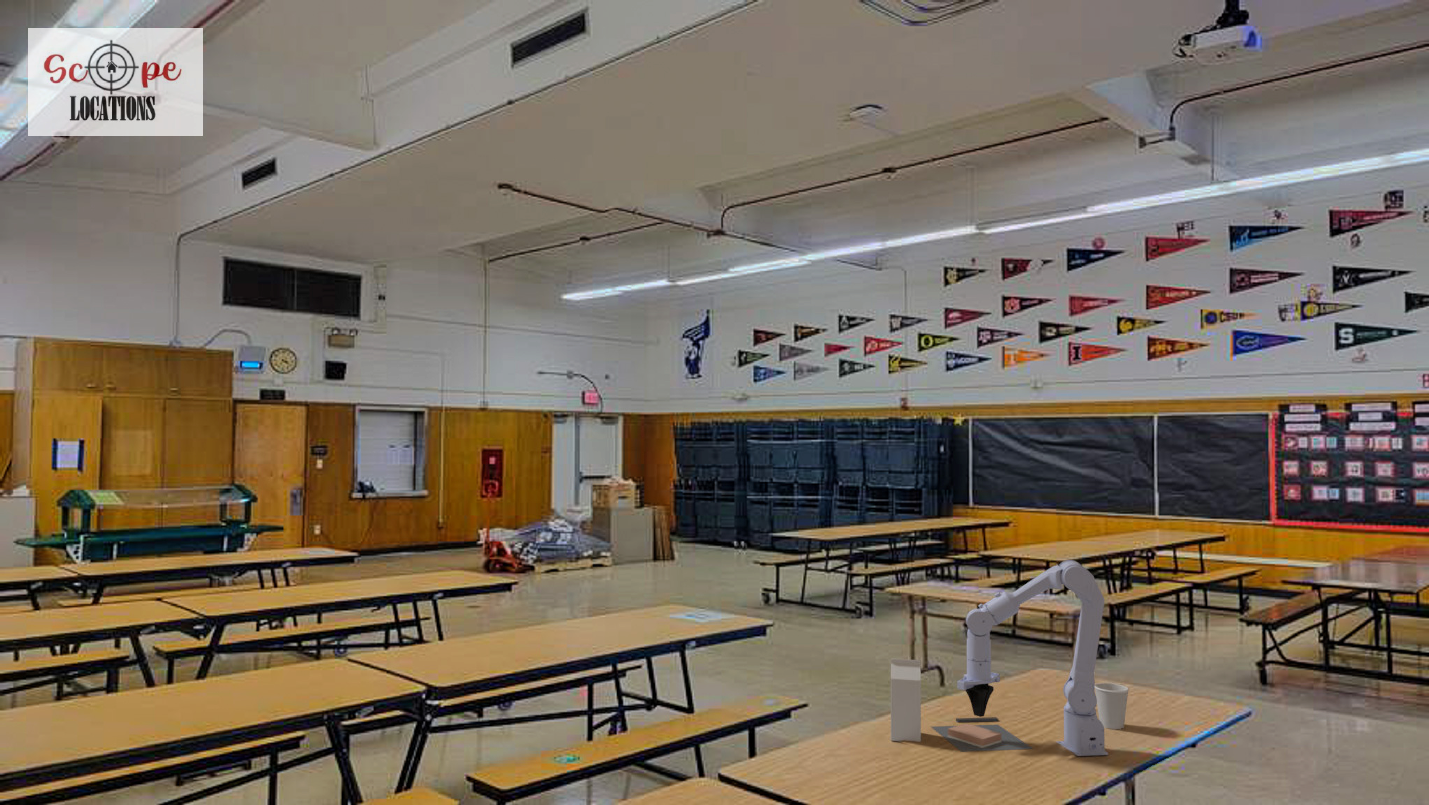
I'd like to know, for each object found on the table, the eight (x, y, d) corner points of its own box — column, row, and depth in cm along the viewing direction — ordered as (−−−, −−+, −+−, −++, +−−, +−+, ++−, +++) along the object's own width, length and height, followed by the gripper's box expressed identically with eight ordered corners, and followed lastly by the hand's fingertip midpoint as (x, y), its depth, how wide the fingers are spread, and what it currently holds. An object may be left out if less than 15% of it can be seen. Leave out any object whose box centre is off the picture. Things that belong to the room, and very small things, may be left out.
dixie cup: (1122, 722, 236) (1122, 683, 237) (1134, 731, 228) (1134, 691, 229) (1089, 720, 237) (1089, 682, 238) (1100, 730, 229) (1099, 690, 229)
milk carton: (920, 743, 217) (920, 663, 218) (890, 741, 218) (890, 662, 219) (920, 734, 224) (920, 657, 225) (890, 732, 225) (891, 655, 226)
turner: (991, 718, 238) (991, 714, 238) (1003, 726, 231) (1003, 722, 231) (922, 720, 236) (922, 716, 236) (932, 728, 229) (932, 724, 229)
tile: (966, 723, 225) (947, 728, 220) (1001, 733, 217) (982, 739, 213) (966, 731, 225) (947, 737, 220) (1001, 742, 217) (982, 748, 212)
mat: (1033, 751, 212) (1033, 749, 212) (961, 753, 210) (961, 751, 210) (997, 726, 231) (997, 724, 231) (930, 728, 229) (930, 726, 229)
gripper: (982, 652, 228) (983, 706, 228) (946, 660, 220) (947, 716, 219) (1007, 657, 223) (1007, 713, 222) (971, 665, 214) (971, 723, 213)
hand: (979, 715), depth 220 cm, fingers closed
